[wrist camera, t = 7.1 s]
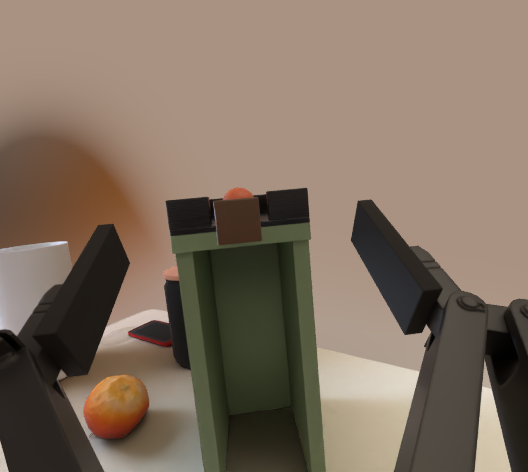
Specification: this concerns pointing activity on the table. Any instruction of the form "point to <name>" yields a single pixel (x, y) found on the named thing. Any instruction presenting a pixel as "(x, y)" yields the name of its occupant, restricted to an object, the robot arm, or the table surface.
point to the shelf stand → (251, 334)
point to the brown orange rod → (237, 218)
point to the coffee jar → (176, 317)
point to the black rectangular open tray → (202, 209)
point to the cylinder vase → (29, 280)
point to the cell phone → (153, 333)
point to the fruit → (116, 406)
